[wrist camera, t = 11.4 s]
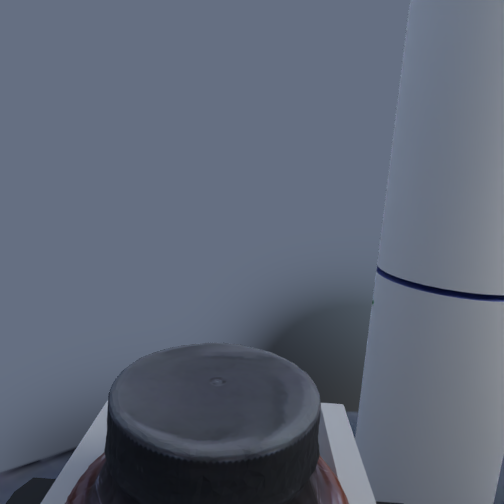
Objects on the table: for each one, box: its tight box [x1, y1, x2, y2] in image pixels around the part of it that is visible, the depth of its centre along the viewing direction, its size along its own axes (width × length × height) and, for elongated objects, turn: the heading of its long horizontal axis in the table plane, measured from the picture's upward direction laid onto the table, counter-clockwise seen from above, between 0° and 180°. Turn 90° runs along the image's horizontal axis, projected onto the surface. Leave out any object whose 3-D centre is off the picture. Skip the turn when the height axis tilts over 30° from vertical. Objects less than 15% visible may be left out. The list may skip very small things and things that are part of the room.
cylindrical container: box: [355, 0, 504, 504], centre depth 21 cm, size 7×7×25 cm
